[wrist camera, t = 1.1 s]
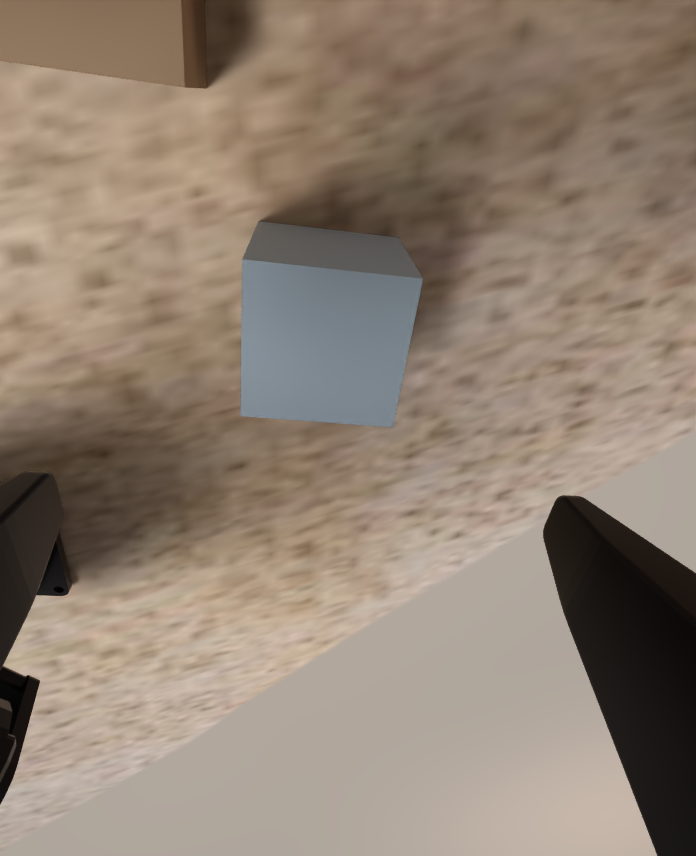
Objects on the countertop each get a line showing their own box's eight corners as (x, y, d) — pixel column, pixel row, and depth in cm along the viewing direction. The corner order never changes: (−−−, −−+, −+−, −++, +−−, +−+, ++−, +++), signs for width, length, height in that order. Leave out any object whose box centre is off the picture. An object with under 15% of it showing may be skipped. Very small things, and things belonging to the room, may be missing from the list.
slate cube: (377, 361, 21) (392, 427, 17) (255, 350, 21) (240, 416, 16) (398, 236, 18) (423, 278, 14) (258, 220, 18) (242, 259, 14)
